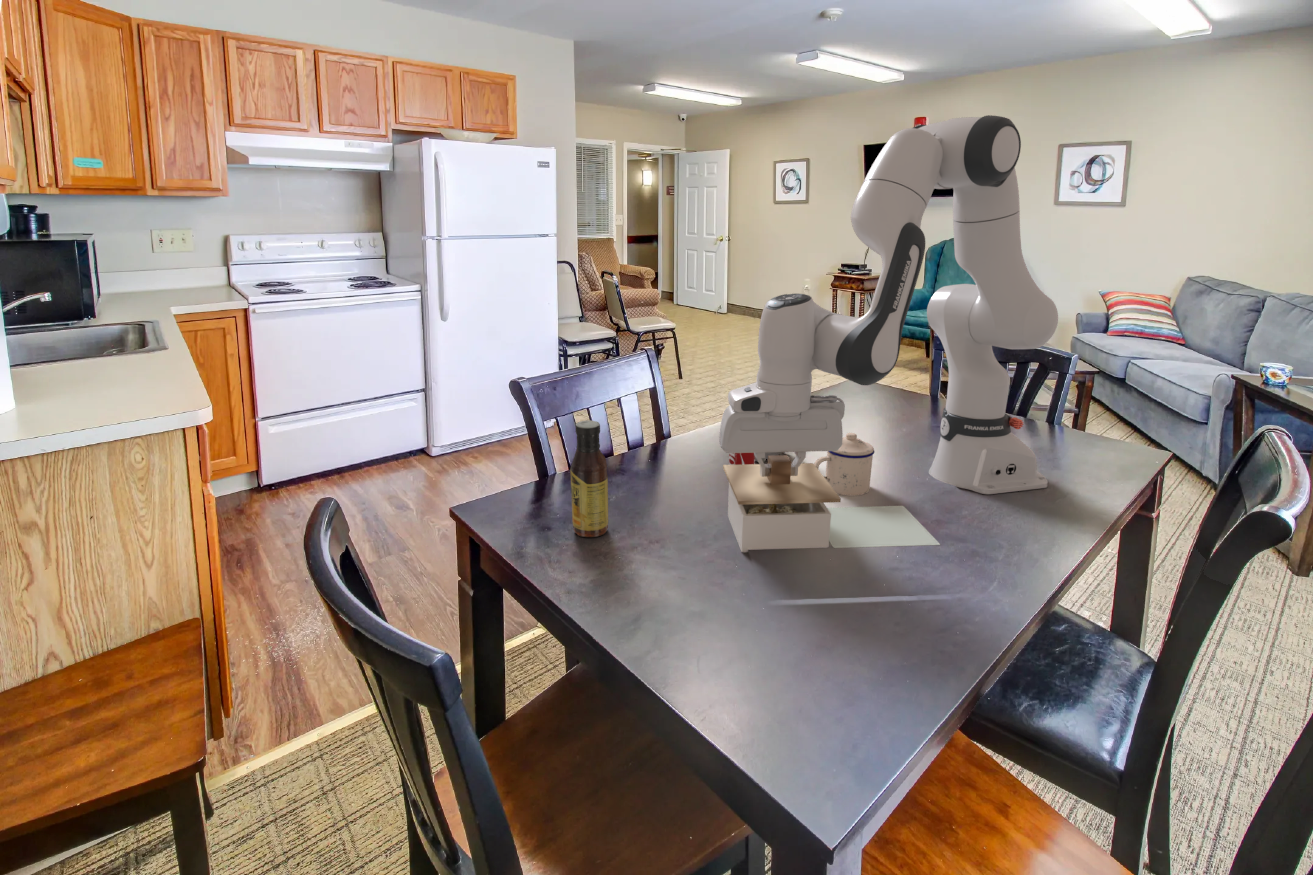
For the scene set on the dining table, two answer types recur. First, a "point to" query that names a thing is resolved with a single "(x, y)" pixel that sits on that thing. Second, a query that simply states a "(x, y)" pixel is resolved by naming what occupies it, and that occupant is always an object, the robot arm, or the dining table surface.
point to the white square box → (780, 526)
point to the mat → (876, 527)
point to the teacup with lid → (849, 466)
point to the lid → (779, 483)
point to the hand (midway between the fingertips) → (778, 475)
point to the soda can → (741, 458)
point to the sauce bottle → (589, 482)
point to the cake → (770, 509)
